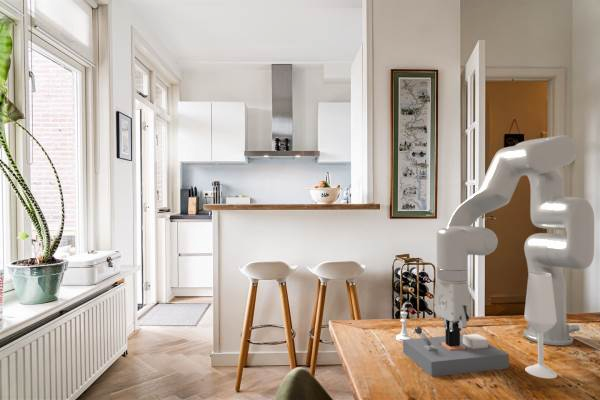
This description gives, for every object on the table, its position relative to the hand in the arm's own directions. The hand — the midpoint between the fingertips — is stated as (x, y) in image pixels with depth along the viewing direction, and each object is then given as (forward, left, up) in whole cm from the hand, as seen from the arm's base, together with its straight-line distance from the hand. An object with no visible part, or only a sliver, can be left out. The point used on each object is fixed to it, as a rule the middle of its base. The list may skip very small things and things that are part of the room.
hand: (452, 344), depth 102 cm
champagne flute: (-17, +11, -4) cm, 20 cm away
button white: (-7, 0, -1) cm, 7 cm away
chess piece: (+5, -17, -4) cm, 18 cm away
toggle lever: (+6, 0, 0) cm, 6 cm away
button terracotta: (0, 0, -2) cm, 2 cm away
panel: (0, 0, -4) cm, 4 cm away
